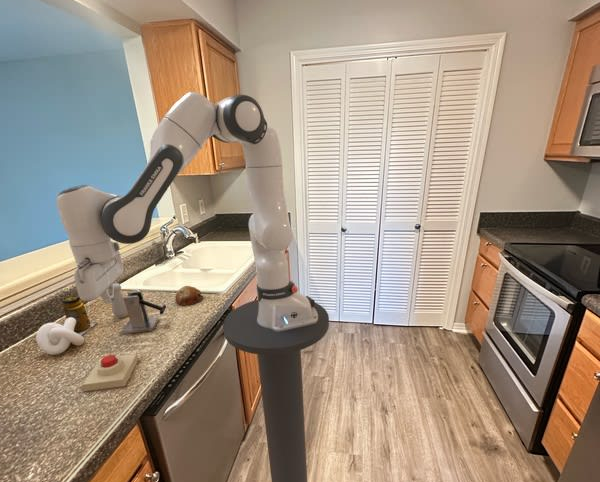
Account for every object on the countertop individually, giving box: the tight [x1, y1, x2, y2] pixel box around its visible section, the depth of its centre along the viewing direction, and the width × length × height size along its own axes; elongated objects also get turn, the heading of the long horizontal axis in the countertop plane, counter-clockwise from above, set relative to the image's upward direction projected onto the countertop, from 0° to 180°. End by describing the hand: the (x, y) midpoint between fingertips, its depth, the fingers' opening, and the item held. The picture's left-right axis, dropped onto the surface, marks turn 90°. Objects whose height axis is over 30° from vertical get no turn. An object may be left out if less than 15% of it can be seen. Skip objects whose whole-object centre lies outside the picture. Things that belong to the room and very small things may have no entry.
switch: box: [130, 294, 167, 315], centre depth 112 cm, size 12×5×2 cm, turn 99°
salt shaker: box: [110, 282, 129, 319], centre depth 121 cm, size 6×6×13 cm
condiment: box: [61, 295, 97, 336], centre depth 113 cm, size 7×8×12 cm
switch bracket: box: [121, 290, 159, 335], centre depth 113 cm, size 10×8×13 cm
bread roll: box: [175, 285, 204, 306], centre depth 133 cm, size 10×10×8 cm
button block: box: [81, 353, 139, 392], centre depth 90 cm, size 10×12×4 cm
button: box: [100, 354, 117, 368], centre depth 89 cm, size 4×4×2 cm
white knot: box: [35, 317, 85, 356], centre depth 103 cm, size 11×12×9 cm
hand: (110, 301), depth 88 cm, fingers closed
